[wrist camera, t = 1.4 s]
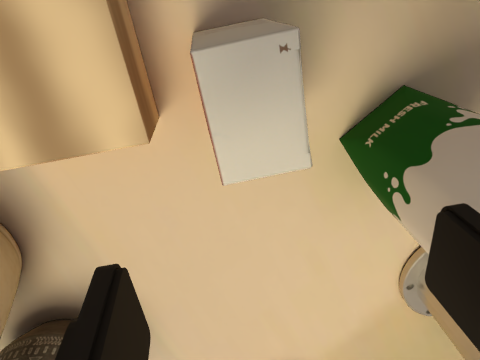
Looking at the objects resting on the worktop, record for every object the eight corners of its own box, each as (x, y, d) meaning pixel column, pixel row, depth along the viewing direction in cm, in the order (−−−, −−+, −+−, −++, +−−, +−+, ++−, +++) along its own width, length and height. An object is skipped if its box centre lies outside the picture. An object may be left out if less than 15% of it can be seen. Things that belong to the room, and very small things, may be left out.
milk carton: (407, 69, 29) (741, 172, 11) (454, 141, 32) (763, 306, 14) (324, 139, 31) (492, 321, 13) (377, 199, 34) (564, 406, 17)
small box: (192, 31, 26) (186, 46, 16) (264, 16, 26) (301, 22, 16) (214, 131, 29) (220, 189, 20) (278, 117, 29) (314, 170, 20)
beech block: (111, -55, 23) (83, -74, 17) (159, 117, 28) (149, 143, 23) (-69, -24, 23) (-152, -32, 17) (15, 144, 28) (-28, 176, 23)
